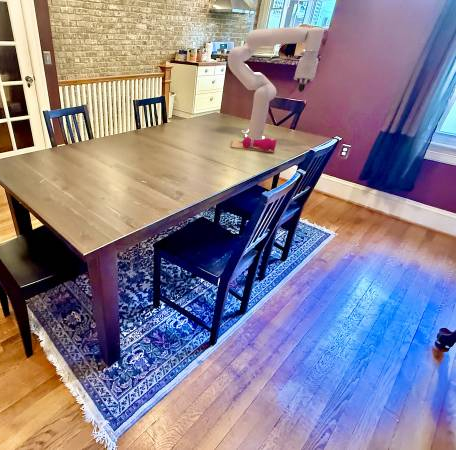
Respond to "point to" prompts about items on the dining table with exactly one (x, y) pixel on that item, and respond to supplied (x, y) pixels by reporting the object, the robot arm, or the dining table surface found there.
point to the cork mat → (240, 145)
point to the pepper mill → (259, 143)
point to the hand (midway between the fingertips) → (300, 91)
